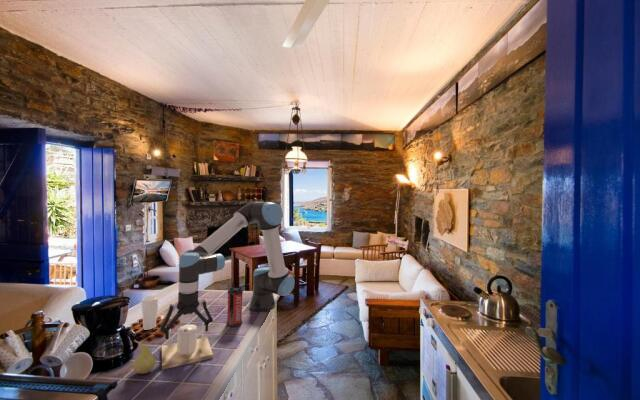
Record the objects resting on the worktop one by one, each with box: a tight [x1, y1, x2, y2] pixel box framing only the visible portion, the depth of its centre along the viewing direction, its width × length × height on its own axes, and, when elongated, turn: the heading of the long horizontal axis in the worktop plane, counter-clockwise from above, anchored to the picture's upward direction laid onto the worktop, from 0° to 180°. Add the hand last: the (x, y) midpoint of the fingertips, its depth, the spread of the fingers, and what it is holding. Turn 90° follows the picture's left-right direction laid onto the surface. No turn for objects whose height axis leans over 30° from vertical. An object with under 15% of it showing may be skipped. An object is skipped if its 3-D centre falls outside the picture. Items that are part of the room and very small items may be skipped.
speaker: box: [226, 286, 244, 327], centre depth 149 cm, size 8×8×18 cm
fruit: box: [132, 339, 156, 375], centre depth 106 cm, size 7×8×12 cm
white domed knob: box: [176, 324, 198, 355], centre depth 120 cm, size 7×7×10 cm
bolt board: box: [161, 336, 214, 371], centre depth 120 cm, size 18×16×8 cm
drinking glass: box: [141, 295, 159, 331], centre depth 140 cm, size 7×7×15 cm
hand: (186, 342), depth 120 cm, fingers open, 12 cm apart
